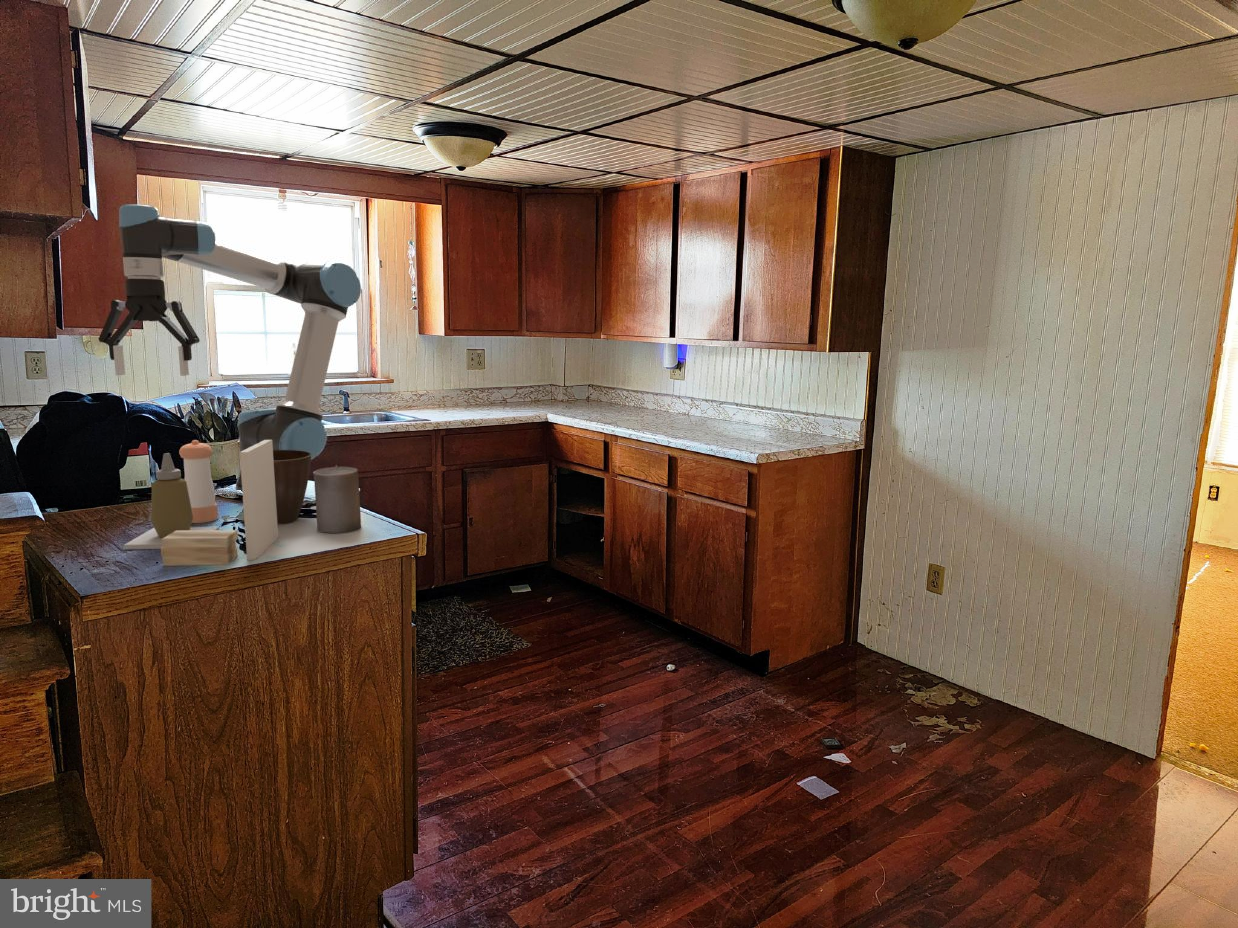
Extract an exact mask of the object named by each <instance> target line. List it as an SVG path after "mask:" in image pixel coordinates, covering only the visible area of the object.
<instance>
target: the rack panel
mask: <svg viewBox="0 0 1238 928" xmlns="http://www.w3.org/2000/svg"><path fill="white" fill-rule="evenodd" d="M239 461H240V468H241V478H242V492H243V497H242V503H243V517H244V518H243V519H244V533H245V548H246V549H245V550H246V560H247V561H249V560H250V561H251V560H252V561H254V560H257V558H259V557H260V556H261V555H262V554H263V553H264V552H265V551H266V550H267V549H268V548H270V547H271V545H273V544H274V543H275V542H276V541H277V540H279V529H278V526H279V525H278V524H277V510H276V494H275V477H274V461H273V445H272V440H264V441H261V442H259V443H257V444H255V445H253V446H251V447H249V448H247V449H245V450H243V451H241V452H240V451H239Z"/></svg>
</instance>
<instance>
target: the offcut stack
mask: <svg viewBox="0 0 1238 928" xmlns="http://www.w3.org/2000/svg"><path fill="white" fill-rule="evenodd" d="M162 540H163V547H162V548H161V549H160V554H161V555H160V556H161V558H162V565H163V567H164V566H168V567H169V566H171V567H172V566H214V565H215V566H217V565H219V566H220V565H229V564H230V563H231V562H233V560H235V559H236V558H237V557H239V552H238V547H237V543H236V542H237V540H239V531H238V529H231V530H230V529H220V530H176V531H174V532H173V533H171V534H169V535H168V536H166V537H164V538H162Z"/></svg>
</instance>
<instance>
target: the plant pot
mask: <svg viewBox="0 0 1238 928" xmlns="http://www.w3.org/2000/svg"><path fill="white" fill-rule="evenodd" d="M273 461H274V477H275V494H276V510H277V525H284V524H285V525H286V524H289V523H294V522H296V521H298V519H299V515H300V513H301V509H302V507H303V503H304V499H305V496H306V492H307V487H308V482H309V477H310V472H311V464H312V463H311V462H312V459H311V453H310V452H307V451H300V450H273Z"/></svg>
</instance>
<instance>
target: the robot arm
mask: <svg viewBox="0 0 1238 928" xmlns="http://www.w3.org/2000/svg"><path fill="white" fill-rule="evenodd" d="M118 211H119V212H118V220H119V224H118V227H119V232H120V239H121V240H120V241H121V253H122V262H123V264H122V265H123V274H124V276H125V277H127V278H126V279H125V280H124V285H125V296H126V300H125V301H122V300H119V299H113V300H111V301H110V311H109V314H108V315H107V318H106V320H105V323H104V325H103V327H102V330H101V332H100V334H99V337H98V341H99V343H104V344H106V345H107V346H108V353H109V359H110V360H111V361H114V371H115V376H124V375H126V368H125V357H124V348H123V347H124V346H123V345H120V343H121V341H122V340H123V338H124V337H126V335H127V334H128V333H129V331H130V330H131V329H132V328H133V326H135V324H136V323H137V322H158V323H160V324H161V325H162V326H163V327H165V329H166V331H167V330H168V332H169V333H170V334H171V335H172V336H173V337H174V339H176V340H177V341H178V343H180V346H177V348H178V362H179V370H180V371H179V375H180V376H182V377H184V376H189V375H190V371H189V361H192V357H193V356H192V355H193V353H192V346H193V345H195V344H199V343H200V342H201V341H200V338H199V336H198V334H197V333H196V331H195V329H194V328H193V326H192V324H191V323H190V321H189V319H188V317H187V316H186V314H185V312H184V311H183V307H182V302H181V301H179V300H178V301H175V300H174V301H173V300H172V301H170V302H169V301H168V302H167V300H166V288H165V281H164V280H163V279H162V278H164V276H165V274H164V264H163V258H164V259H167V260H170V261H175V262H178V263H181V264H185V265H186V266H187V265H188V266H191V267H194V268H198V269H200V270H205V271H207V272H210V273H214V274H218V275H221V276H224V277H227V278H230V279H234V280H236V281H240V282H243V283H247V284H250V285H254V286H256V287H260V288H264V290H265V292H267V293H268V294H270V295H273V296H276V297H280V298H283V299H285V300H288V301H291V302H294V303H297V304H300V307H301V308H302V310H303V311H304V317H303V321H302V322H303V323H302V325H301V330H300V333H299V338H298V343H297V347H296V351H295V356H294V358H293V359H294V360H293V363H292V368H291V373H290V376H289V380H288V384H287V389H286V393H285V397H284V399H283V401H281V402H279V403H277V404H276V407H275V408H264V409H256V410H253V409H252V410H245V411H244V410H243V411H241V412H240V413H239V414H238V416H237V428H238V429H237V430H238V439H239V441H238V442H239V453H240V452H241V451H243V450H245V449H247V448H249V447H251V446H253V445H255V444H257V443H259V442H261V441H264V440H272V445H273V450H300V451H307V452H310V453H311V460H313V459H314V458H316V457H318V456H319V455H320V454H321V453H322V451H323V450H324V448H325V446H326V444H327V440H328V434H327V430H326V429H325V427H326V426H325V425H324V424H323V422H322V421H323V417H324V414H323V413H322V412H321V410H320V404H321V400H322V399H321V398H322V395H323V391H324V387H325V382H326V377H327V373H328V368H329V364H330V361H331V356H332V352H333V347H334V344H335V339H336V334H337V329H338V326H339V322H341V321H342V320H343V321H344V319H346V318H347V313H348V309H349V307H351V306H353V305H354V304H356V303H357V302H359V299H360V296H361V293H362V286H361V282H360V281H361V280H360V278H359V276H358V275H357V273H356V271H355V270H354V269H353V268H352V266H350V265H349V264H347V263H345V262H341V261H334V260H329V261H328V260H327V261H316V262H314V261H312V262H293V261H287V260H283V259H280V258H274V259H272V260H271V259H268V258H265V257H262V256H259V255H256V254H253V253H251V252H248V251H244V250H241V249H238V248H235V247H232V246H229V245H226V244H222V243H220V242H217V240H216V233H215V230H214V229H213V226H211V224H209V223H207V222H203V221H198V220H196V219H194V220H191V219H190V220H189V219H188V220H187V219H177V218H169V217H168V218H167V217H162V216H160V213H159V209H158V208H157V207H156V206H152V205H151V206H150V205H147V204H146V205H145V204H136V203H135V204H131V203H130V204H129V203H128V204H123V205H121V206H120V207H119V210H118ZM125 308H126V310H128V311H129V313H128V314H127V315H126V317H125V318H124V320H123V321H122V323H121V324H120V326H119V327H118V328H117V329H116V326H117V324H118V322H119V320H120V317H121V315H122V312H123V311H125ZM168 309H169V310H170V311H171V312H172V313H173V315H174V317H175V319H176V321H177V322H178V324H179V325H180V327H181V329H179V328H178V326H177V325H175V323H174V322H173V321H172V320H171V318H170V317H169V316H168V315H167V314H166V311H167V310H168ZM115 329H116V330H115ZM181 330H183V332H184V333H183V332H182V331H181ZM236 479H237V480H236V483H235V491H236V490H241V491H242V478H241V467H240V469H239V473H238V476H237V478H236Z"/></svg>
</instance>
